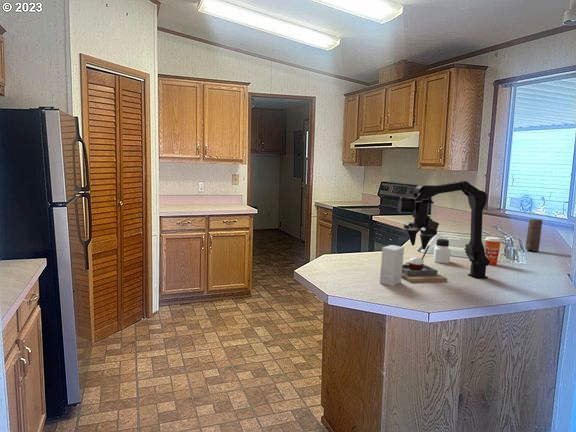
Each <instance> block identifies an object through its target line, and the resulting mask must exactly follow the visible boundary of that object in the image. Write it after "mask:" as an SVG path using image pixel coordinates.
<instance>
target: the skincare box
mask: <svg viewBox="0 0 576 432" xmlns="http://www.w3.org/2000/svg"><path fill="white" fill-rule="evenodd" d="M404 250H405V247H404V246H399V245H395V244H389V245H386V246H384V247H382V252H381V263H380V272H379V273H380V274H379V284H380V285H386V286H389V287H395V286H397V285H399V284H401V283H402V278H401V276H402V265H404V264H403V263H404Z"/></svg>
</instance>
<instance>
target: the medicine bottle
mask: <svg viewBox="0 0 576 432" xmlns="http://www.w3.org/2000/svg"><path fill="white" fill-rule="evenodd" d="M449 245H450V241H449V240H448V239H447V238H438V239H436V245H435V246H434V248H433V256H432V259H433V262H434V263H435V262H436V263H435V264H448V265H449V264H450V259H451V249H450V248H449Z"/></svg>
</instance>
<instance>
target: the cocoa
mask: <svg viewBox="0 0 576 432" xmlns="http://www.w3.org/2000/svg"><path fill="white" fill-rule="evenodd" d="M429 248H430V245H429V244H427V247H426V249H425V251H424V253H423V255H422V257H421V258H420V257H418V256H414V257H410V258H409V262H406V263H405V264H409V267H410V268H409V267H408V266H407V265H406V266H407V267H408V268H409V269H411V270H412V271H414V270H422V268H423V264H424V258H425V256H426V255H427V252H428V250H429Z"/></svg>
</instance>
